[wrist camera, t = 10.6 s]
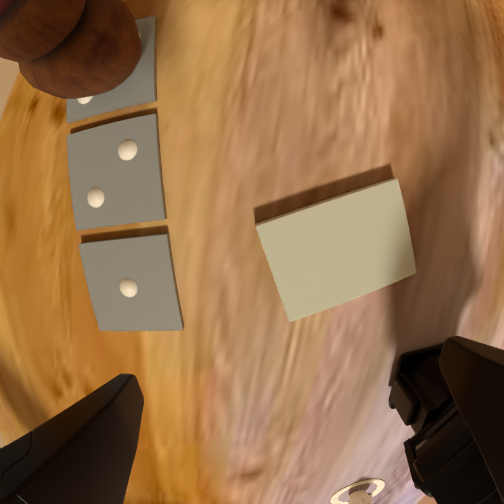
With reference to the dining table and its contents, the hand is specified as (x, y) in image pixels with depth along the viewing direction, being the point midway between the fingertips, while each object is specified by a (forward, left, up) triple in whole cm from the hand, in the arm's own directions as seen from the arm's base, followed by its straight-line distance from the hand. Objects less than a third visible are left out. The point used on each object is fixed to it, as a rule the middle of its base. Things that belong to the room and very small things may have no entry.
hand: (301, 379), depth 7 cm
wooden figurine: (+10, -14, -13) cm, 22 cm away
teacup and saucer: (-9, +38, -14) cm, 41 cm away
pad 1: (+10, -14, -13) cm, 22 cm away
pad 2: (+10, -6, -13) cm, 18 cm away
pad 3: (+10, +2, -13) cm, 17 cm away
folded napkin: (-5, 0, -13) cm, 14 cm away
